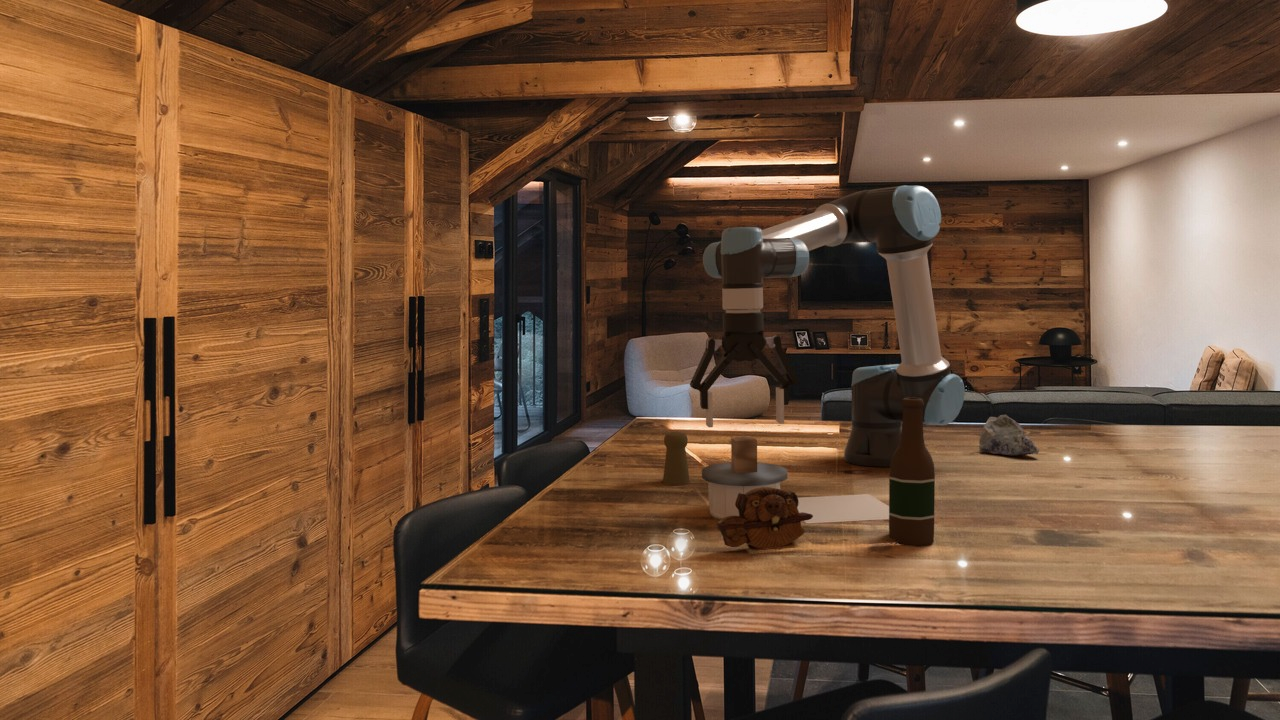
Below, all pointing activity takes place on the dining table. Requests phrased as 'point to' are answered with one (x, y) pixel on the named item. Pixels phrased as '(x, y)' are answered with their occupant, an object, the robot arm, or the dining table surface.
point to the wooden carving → (764, 519)
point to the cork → (676, 459)
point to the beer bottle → (912, 482)
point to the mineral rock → (1005, 438)
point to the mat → (843, 508)
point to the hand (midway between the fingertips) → (745, 424)
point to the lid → (744, 467)
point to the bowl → (728, 498)
